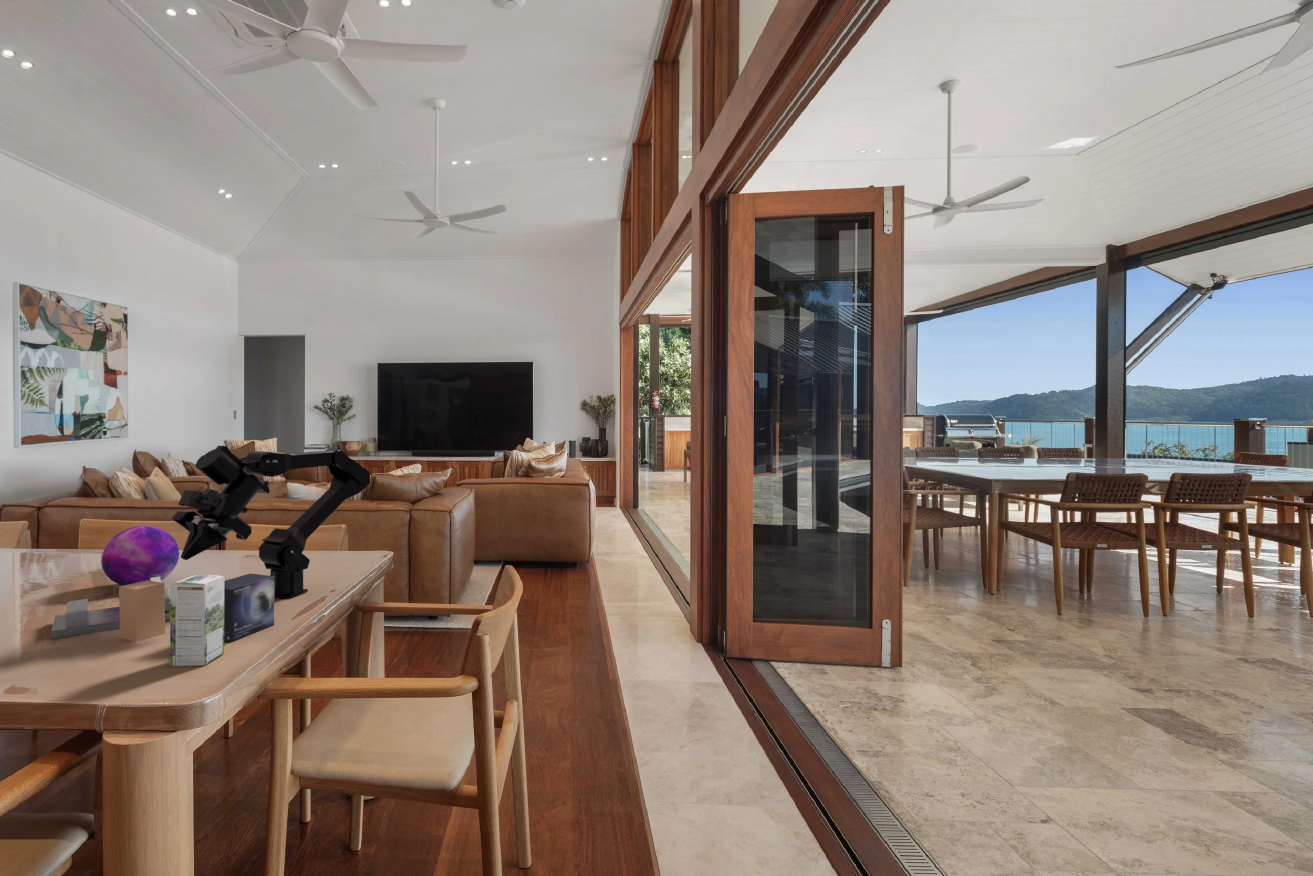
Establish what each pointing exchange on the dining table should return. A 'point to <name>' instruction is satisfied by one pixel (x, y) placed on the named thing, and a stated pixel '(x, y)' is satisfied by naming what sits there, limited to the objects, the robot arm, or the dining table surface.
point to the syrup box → (196, 620)
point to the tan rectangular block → (142, 610)
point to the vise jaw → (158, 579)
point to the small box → (248, 605)
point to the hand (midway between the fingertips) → (183, 558)
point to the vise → (86, 619)
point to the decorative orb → (139, 555)
